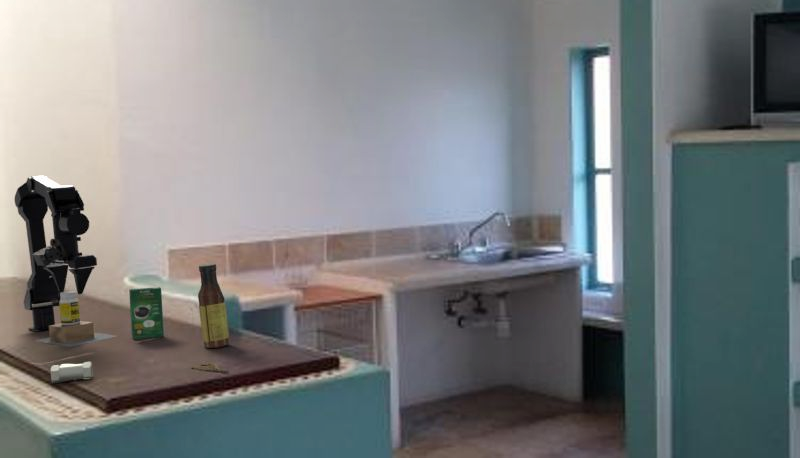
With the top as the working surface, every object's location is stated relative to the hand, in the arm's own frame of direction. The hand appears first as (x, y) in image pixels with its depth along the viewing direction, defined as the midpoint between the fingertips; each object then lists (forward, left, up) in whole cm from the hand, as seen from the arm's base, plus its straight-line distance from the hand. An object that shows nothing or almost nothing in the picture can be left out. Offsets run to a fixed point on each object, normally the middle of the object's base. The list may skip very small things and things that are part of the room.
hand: (70, 293), depth 241 cm
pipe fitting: (+42, -25, -13) cm, 50 cm away
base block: (+1, -1, -12) cm, 12 cm away
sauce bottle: (+45, +11, -13) cm, 48 cm away
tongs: (+65, -5, -13) cm, 66 cm away
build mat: (+1, 0, -12) cm, 12 cm away
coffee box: (+19, +10, -13) cm, 25 cm away
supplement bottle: (+1, -1, -8) cm, 8 cm away
